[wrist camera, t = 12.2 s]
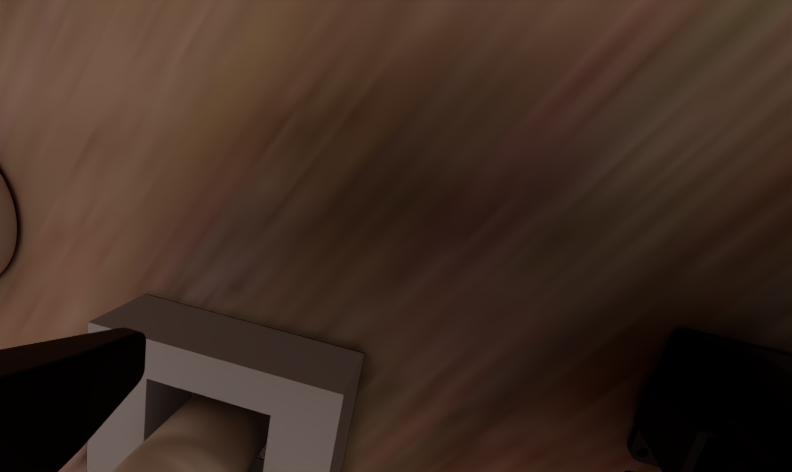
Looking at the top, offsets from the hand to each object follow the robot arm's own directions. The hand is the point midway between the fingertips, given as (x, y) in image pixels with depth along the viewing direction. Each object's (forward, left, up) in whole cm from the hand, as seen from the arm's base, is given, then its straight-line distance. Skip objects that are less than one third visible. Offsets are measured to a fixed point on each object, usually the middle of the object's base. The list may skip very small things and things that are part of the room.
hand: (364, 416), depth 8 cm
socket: (+8, +15, -12) cm, 21 cm away
